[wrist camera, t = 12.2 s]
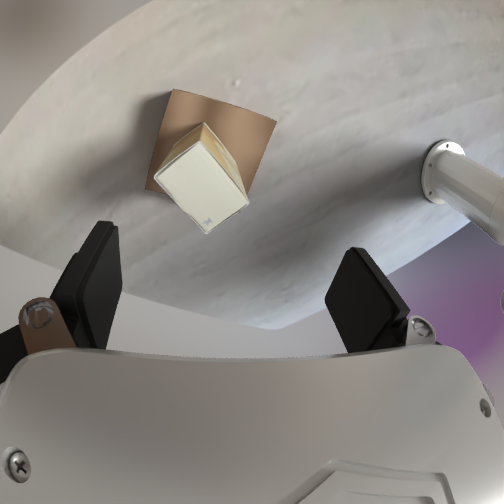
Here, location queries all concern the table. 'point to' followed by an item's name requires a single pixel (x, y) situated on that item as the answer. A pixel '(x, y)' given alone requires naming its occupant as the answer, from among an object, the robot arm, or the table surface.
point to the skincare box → (203, 179)
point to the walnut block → (223, 126)
